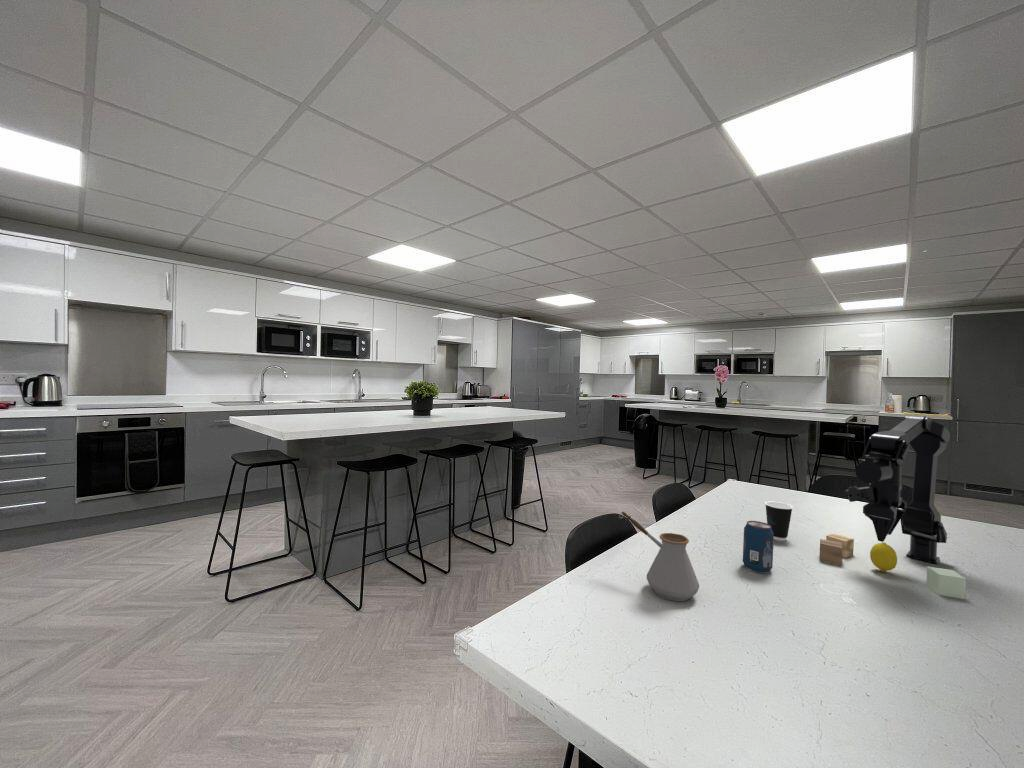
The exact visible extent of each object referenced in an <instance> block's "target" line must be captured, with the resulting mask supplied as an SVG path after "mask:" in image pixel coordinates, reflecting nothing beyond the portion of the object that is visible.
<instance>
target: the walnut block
mask: <svg viewBox="0 0 1024 768" xmlns="http://www.w3.org/2000/svg"><path fill="white" fill-rule="evenodd" d="M819 561H820V562H824V563H829V564H834V565H838V566H843V557H842V543H839V542H834V541H829V540H826V539H823V538H819Z"/></svg>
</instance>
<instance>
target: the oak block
mask: <svg viewBox="0 0 1024 768" xmlns="http://www.w3.org/2000/svg"><path fill="white" fill-rule="evenodd" d="M825 538H826V539H825V540H829V541H834V542H839V543H842V558H845V559H846V558H848V557H849V558H850V557H852V556H854V546H855V545H854V544H855V543H854V541H855V538H852V537H849V536H845V535H842V534H838V533H830V534H827V535H825Z"/></svg>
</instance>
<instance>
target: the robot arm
mask: <svg viewBox="0 0 1024 768" xmlns="http://www.w3.org/2000/svg"><path fill="white" fill-rule="evenodd" d="M950 437H951V433H950V431H949V429H947V427H946V426H945V425H943V424H941V423H939V422H937V421H935V420H932V419H931V417H928V416H926V415H906V416H905V417H904V420H902V421H901V422H900V423H898V424H897V425H895V426H894V427H893V428H891V429H890V430H886V431H877V432H875V433H873V434H871V436H869V438H868V439H867V442H866V445H865V447H864V450H863V452H862V455H861V457H862V458H863V459H864V461H862V462H858V464H857V465H856V467H855V471H854V472H855V475H856V477H857V478H858V479H859V480H860V481H861V482H863V483H866V484H869V485H868V486H863V487H862V486H861V487H858V486H856V485H855V486H849V487H848V488H847V489H846V490H845V497H847V498H848V500H849V502H850V503H852V502H856V501H864V500H865V501H866V500H867V501H868V503H865V505H863V506H862V514H864V516H865V517H867V518H868V519H869V520H871V522H872V525H873V528H874V532H875V535H876V538H877V541H878V542H880V543H882V542H884V541H886V538H887V536H890V535H891V536H892V535H893V534H892V533H893V532H894V530H895V528H896V527H897V525H898V524H899V522H900V526H901V527H900V528H901V533H902V534H904V535H908V536H910V537H909V539H910V540H909V542H910V543H909V545H910V546H909V551H908V552H907V553H906V554H905V555H906V557H908V558H912V559H916V560H921V561H922V562H924V561H925V562H928V563H932V564H938V562H939V561H940V560H941V559H940V558H941V557H939V556H938V554H937V553H938V544H947V539H948V533H947V531H946V529H945V526H944V524H943V522H942V515H941V513H940V512H939V511H938V509H937V508H936V507H935V495H936V485H937V482H936V481H937V470H938V457H939V456H940V455H941V454H942V453H943V452H944V451H945V450H947V445H948V443H949V442H950V440H951V438H950ZM910 447H911V448H912V450H913V451H914V453H915V461H914V462H915V463H914V474H913V487H912V497H911V502H910V503H909V504H908V502H907V500H906V499H905V498H903V497H901V490H903V485H902V483H901V482H902V465H903V464H904V460H905V458H906V456H907V455H908V452H909V451H910Z"/></svg>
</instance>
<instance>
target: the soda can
mask: <svg viewBox="0 0 1024 768" xmlns="http://www.w3.org/2000/svg"><path fill="white" fill-rule="evenodd" d="M742 542H743V544H742V545H743V547H742V548H743V549H742V562H743V565H744V567H745V568H746V569H747V570H750V571H752V572H754V573H758V574H768V573H770V572H771V570H772V569H773V565H774V563H773V562H774V533H773V531H772V529H771V525H769V524H767V522H763V521H757V520H747V521H746V524H745V526H744V527H743V541H742Z"/></svg>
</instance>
